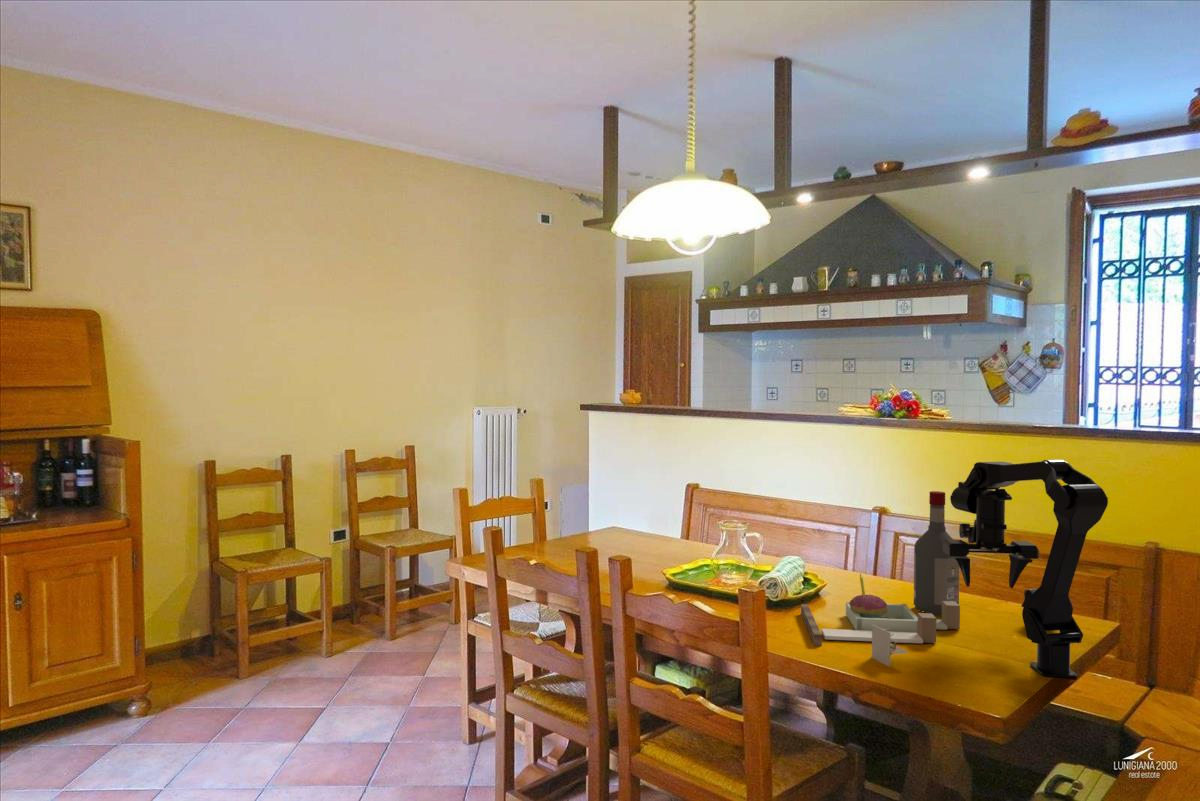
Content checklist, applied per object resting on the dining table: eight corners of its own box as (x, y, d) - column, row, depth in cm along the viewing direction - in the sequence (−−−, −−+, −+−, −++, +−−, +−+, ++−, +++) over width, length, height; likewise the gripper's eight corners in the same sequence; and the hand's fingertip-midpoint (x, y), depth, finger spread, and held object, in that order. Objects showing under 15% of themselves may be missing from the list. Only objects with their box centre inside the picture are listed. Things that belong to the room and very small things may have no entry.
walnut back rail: (821, 645, 171) (821, 635, 171) (814, 645, 171) (814, 634, 171) (807, 614, 194) (807, 604, 194) (800, 613, 194) (801, 604, 194)
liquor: (963, 611, 196) (965, 493, 195) (941, 617, 191) (942, 496, 190) (931, 603, 203) (932, 488, 202) (908, 608, 198) (910, 491, 198)
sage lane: (966, 636, 176) (967, 612, 176) (856, 631, 179) (856, 608, 179) (948, 617, 190) (948, 595, 189) (845, 614, 193) (846, 592, 193)
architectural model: (884, 657, 165) (885, 622, 165) (907, 669, 159) (907, 633, 158) (871, 659, 164) (871, 624, 164) (893, 671, 158) (893, 634, 157)
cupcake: (845, 626, 184) (846, 576, 184) (854, 617, 191) (854, 568, 191) (883, 632, 180) (884, 581, 179) (890, 622, 187) (891, 573, 187)
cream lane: (937, 643, 171) (937, 619, 171) (824, 639, 174) (825, 615, 174) (930, 636, 176) (930, 612, 176) (821, 632, 179) (821, 608, 179)
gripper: (1020, 512, 181) (1018, 579, 181) (935, 510, 183) (934, 576, 183) (1040, 521, 169) (1039, 592, 170) (950, 519, 172) (949, 589, 172)
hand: (989, 587), depth 174 cm, fingers open, 9 cm apart
